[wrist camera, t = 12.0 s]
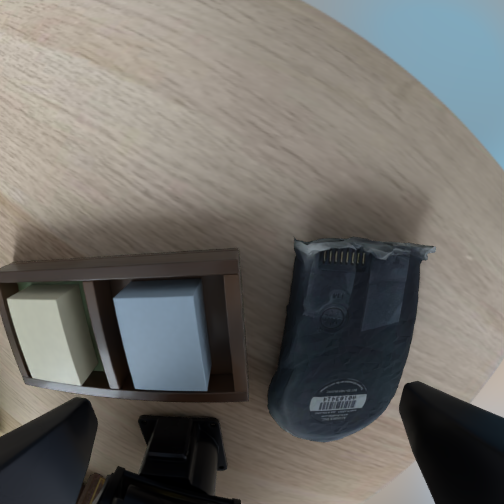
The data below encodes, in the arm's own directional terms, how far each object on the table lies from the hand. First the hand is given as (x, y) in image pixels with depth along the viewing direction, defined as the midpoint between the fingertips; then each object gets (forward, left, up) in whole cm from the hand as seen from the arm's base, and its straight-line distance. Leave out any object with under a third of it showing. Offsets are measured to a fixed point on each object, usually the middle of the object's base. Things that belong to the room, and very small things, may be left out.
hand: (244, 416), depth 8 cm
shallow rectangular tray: (-2, +9, -12) cm, 15 cm away
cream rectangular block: (-2, +13, -11) cm, 17 cm away
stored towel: (-2, +5, -11) cm, 13 cm away
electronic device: (-5, -6, -12) cm, 14 cm away
